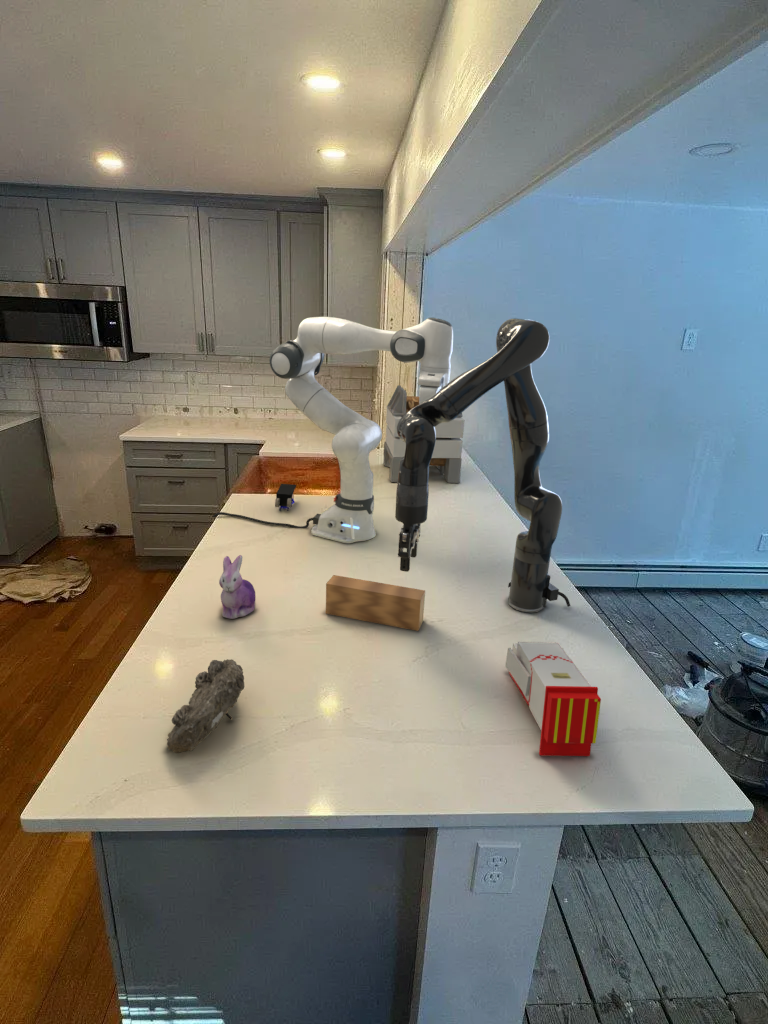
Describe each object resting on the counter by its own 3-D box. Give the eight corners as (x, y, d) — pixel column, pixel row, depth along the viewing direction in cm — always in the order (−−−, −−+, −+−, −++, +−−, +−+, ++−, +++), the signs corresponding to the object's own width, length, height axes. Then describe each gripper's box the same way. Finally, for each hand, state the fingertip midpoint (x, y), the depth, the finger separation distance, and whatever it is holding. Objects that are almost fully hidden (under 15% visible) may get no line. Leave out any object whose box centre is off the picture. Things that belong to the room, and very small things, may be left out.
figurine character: (292, 516, 215) (297, 499, 228) (291, 498, 212) (296, 482, 225) (274, 516, 215) (280, 499, 228) (273, 498, 211) (279, 482, 225)
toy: (554, 624, 127) (610, 694, 97) (548, 679, 130) (602, 763, 100) (500, 623, 126) (541, 693, 97) (496, 678, 129) (534, 763, 100)
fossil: (192, 660, 117) (244, 628, 112) (224, 691, 120) (276, 661, 115) (142, 746, 98) (202, 712, 93) (182, 779, 101) (242, 748, 96)
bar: (325, 613, 146) (326, 583, 143) (333, 604, 151) (333, 574, 148) (418, 631, 140) (420, 600, 137) (423, 620, 145) (425, 590, 142)
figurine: (224, 623, 139) (221, 568, 134) (215, 604, 148) (212, 552, 142) (262, 616, 143) (260, 562, 138) (251, 598, 152) (249, 546, 147)
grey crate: (382, 463, 289) (386, 382, 275) (445, 464, 293) (451, 384, 279) (390, 482, 257) (394, 392, 243) (460, 483, 261) (468, 394, 247)
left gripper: (430, 372, 176) (426, 416, 181) (416, 379, 157) (412, 428, 162) (450, 374, 175) (446, 419, 179) (439, 381, 156) (434, 431, 161)
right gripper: (422, 512, 125) (418, 578, 131) (432, 493, 138) (428, 554, 144) (389, 508, 127) (386, 573, 132) (402, 489, 140) (399, 550, 145)
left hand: (430, 423), depth 171 cm, fingers open, 8 cm apart
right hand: (408, 563), depth 138 cm, fingers open, 8 cm apart
